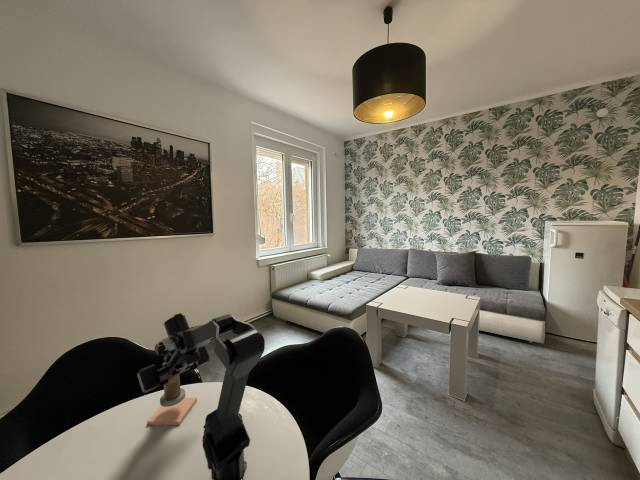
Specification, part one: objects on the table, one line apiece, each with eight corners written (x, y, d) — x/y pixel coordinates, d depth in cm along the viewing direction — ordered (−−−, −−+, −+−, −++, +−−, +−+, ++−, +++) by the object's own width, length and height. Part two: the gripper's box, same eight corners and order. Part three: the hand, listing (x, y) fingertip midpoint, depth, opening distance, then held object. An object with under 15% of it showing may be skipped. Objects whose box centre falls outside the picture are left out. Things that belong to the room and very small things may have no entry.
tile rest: (197, 400, 85) (196, 397, 85) (179, 424, 75) (179, 421, 75) (168, 400, 85) (168, 397, 85) (147, 424, 75) (147, 421, 75)
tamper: (190, 393, 82) (188, 358, 81) (172, 408, 75) (169, 370, 74) (174, 389, 84) (171, 355, 83) (154, 404, 77) (151, 367, 76)
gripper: (203, 320, 82) (189, 343, 90) (136, 343, 68) (127, 368, 75) (217, 350, 78) (202, 371, 86) (149, 381, 63) (138, 404, 71)
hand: (169, 377), depth 80 cm, fingers closed on tamper, 4 cm apart
